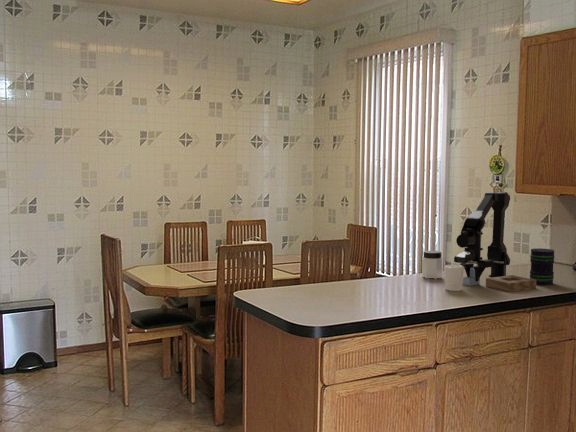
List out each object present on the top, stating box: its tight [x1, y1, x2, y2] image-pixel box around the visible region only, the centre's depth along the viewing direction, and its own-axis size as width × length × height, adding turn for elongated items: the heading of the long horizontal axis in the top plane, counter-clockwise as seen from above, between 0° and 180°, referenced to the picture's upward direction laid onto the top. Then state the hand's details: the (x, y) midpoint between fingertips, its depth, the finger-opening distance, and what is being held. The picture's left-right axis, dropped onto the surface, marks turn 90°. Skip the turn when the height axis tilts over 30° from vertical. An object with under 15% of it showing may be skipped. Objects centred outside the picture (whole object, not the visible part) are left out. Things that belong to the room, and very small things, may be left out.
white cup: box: [443, 264, 465, 292], centre depth 263 cm, size 8×8×10 cm
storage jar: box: [529, 247, 555, 287], centre depth 277 cm, size 10×10×15 cm
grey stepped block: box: [462, 267, 481, 287], centre depth 275 cm, size 6×4×7 cm, turn 118°
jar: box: [421, 250, 443, 280], centre depth 291 cm, size 9×8×12 cm
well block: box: [485, 274, 537, 293], centre depth 268 cm, size 16×13×4 cm
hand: (473, 280), depth 276 cm, fingers closed on grey stepped block, 4 cm apart
